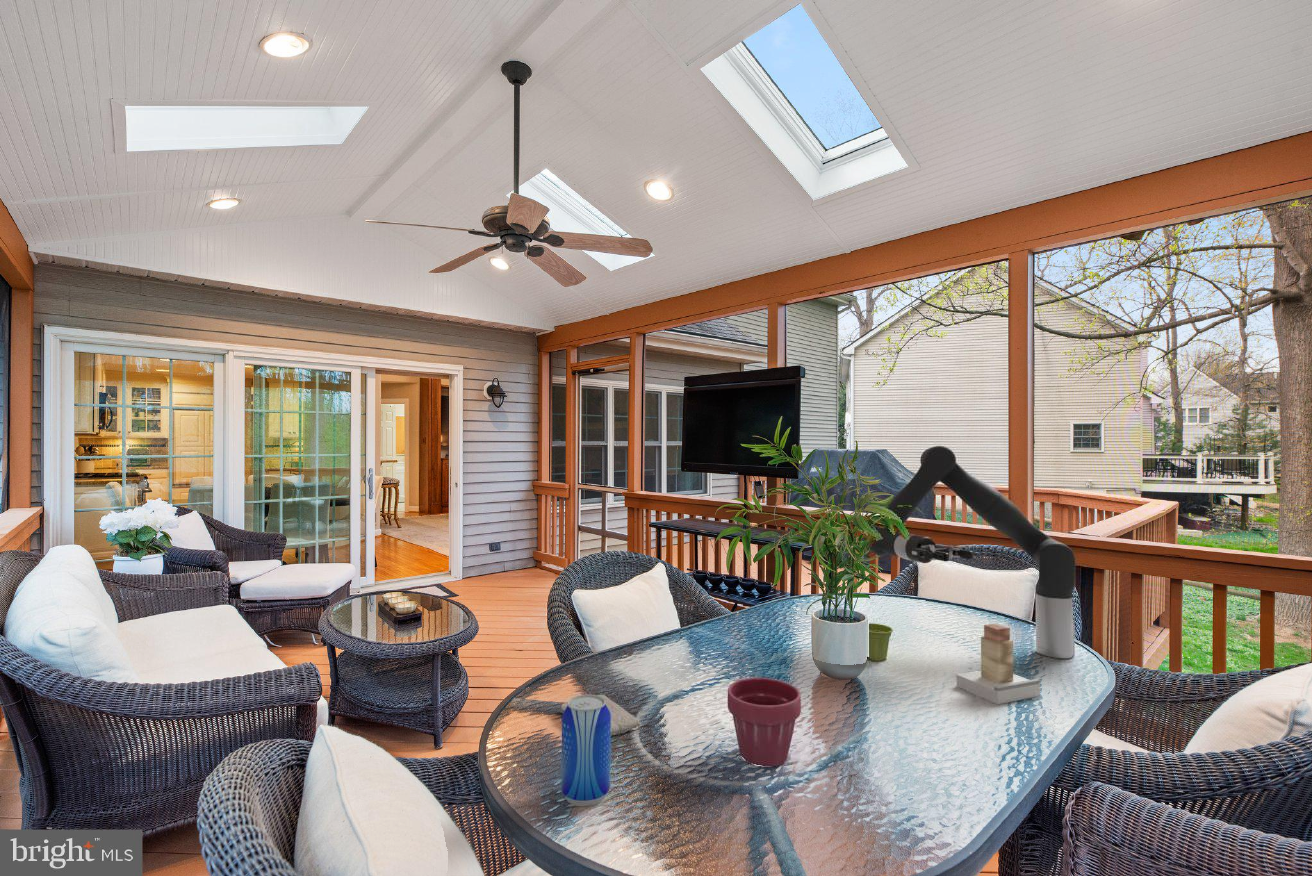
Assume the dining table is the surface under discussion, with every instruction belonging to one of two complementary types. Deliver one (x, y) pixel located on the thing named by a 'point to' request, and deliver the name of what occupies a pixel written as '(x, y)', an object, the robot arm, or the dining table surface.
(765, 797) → the dining table surface
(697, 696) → the dining table surface
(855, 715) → the dining table surface
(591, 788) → the beer can
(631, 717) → the washcloth
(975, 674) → the dock
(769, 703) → the plant pot
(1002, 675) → the beige tall block
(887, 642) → the plant pot
